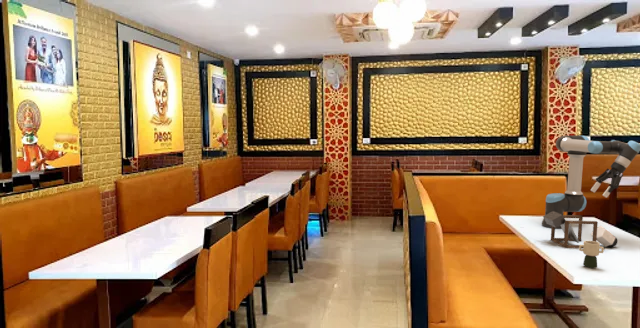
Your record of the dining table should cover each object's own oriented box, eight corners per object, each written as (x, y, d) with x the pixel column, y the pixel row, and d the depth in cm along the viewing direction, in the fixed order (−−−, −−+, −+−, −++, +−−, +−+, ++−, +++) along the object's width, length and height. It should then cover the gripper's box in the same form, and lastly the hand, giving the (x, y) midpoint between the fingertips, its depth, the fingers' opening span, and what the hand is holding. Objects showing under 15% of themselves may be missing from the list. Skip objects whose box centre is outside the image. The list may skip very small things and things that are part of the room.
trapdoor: (542, 216, 291) (553, 209, 290) (556, 242, 292) (567, 236, 291) (552, 220, 277) (565, 214, 276) (567, 248, 278) (579, 242, 277)
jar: (606, 226, 274) (620, 236, 277) (595, 225, 282) (608, 235, 285) (600, 239, 273) (614, 250, 275) (588, 237, 280) (602, 247, 283)
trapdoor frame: (550, 240, 294) (552, 215, 292) (579, 240, 293) (581, 215, 292) (564, 247, 276) (566, 221, 274) (595, 248, 275) (597, 221, 274)
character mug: (601, 266, 240) (602, 241, 239) (603, 270, 234) (605, 245, 233) (577, 263, 245) (578, 239, 243) (578, 267, 238) (580, 242, 237)
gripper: (638, 171, 270) (615, 202, 273) (613, 164, 294) (592, 192, 298) (627, 164, 269) (604, 195, 273) (603, 158, 294) (582, 186, 297)
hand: (598, 193), depth 285 cm, fingers open, 13 cm apart
